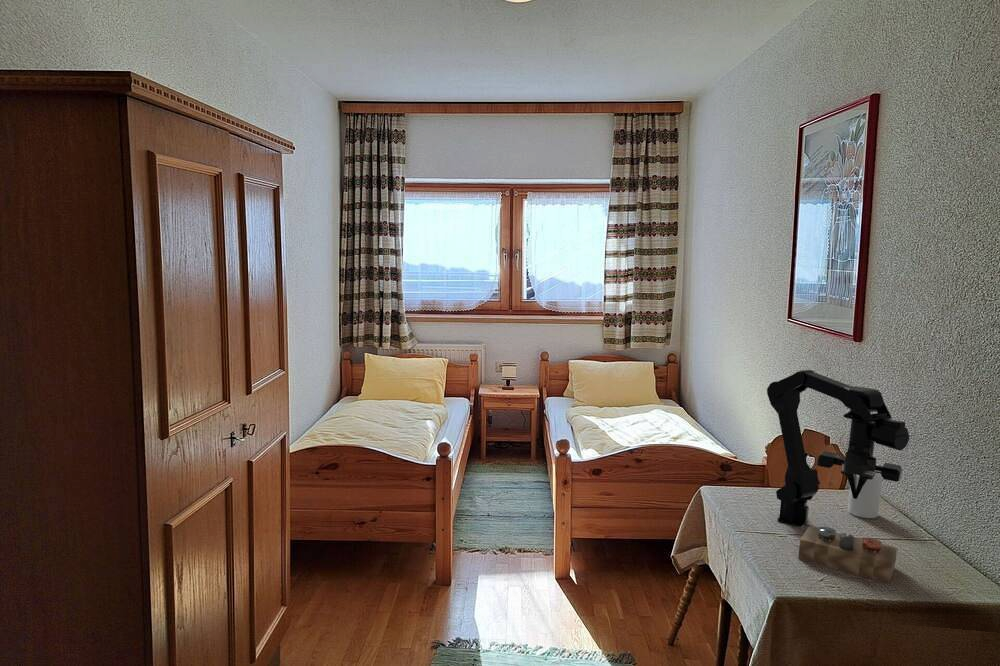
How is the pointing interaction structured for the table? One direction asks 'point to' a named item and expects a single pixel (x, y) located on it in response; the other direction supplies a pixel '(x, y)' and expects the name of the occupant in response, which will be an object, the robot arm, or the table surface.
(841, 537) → the dial
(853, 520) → the table surface
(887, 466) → the robot arm
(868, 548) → the knob right
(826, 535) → the knob left
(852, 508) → the pill bottle
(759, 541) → the table surface
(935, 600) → the table surface
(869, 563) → the mount
